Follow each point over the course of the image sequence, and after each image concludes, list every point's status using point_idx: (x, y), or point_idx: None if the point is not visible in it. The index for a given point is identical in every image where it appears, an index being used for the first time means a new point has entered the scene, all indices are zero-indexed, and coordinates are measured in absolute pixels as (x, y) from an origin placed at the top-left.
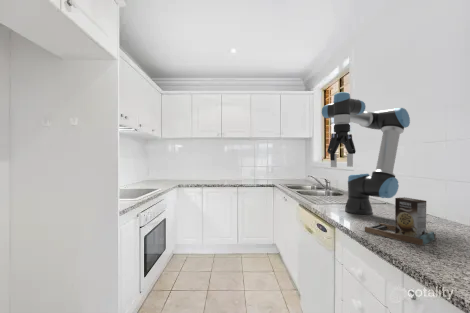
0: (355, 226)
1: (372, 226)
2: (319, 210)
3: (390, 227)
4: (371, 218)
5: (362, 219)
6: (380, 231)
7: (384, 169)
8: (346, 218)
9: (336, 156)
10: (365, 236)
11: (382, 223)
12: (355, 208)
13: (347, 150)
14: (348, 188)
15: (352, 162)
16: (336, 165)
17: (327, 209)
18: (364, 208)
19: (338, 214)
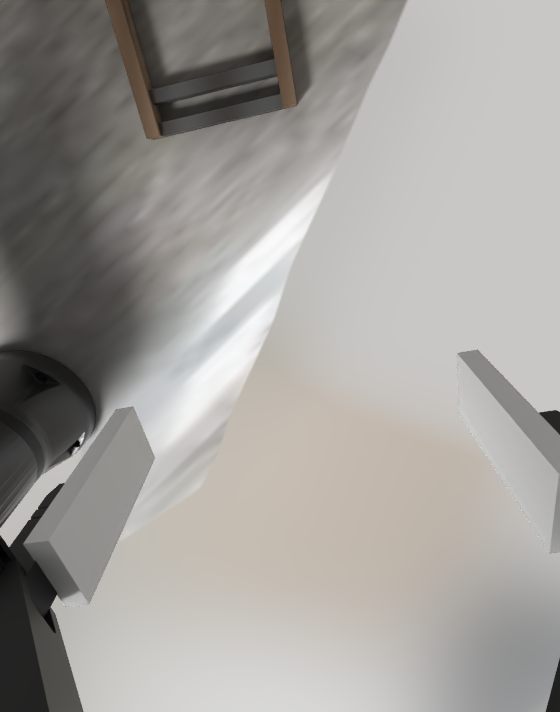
0: (263, 200)
1: (231, 113)
2: (197, 483)
3: (142, 67)
4: (68, 285)
5: (127, 288)
6: (280, 3)
7: None
8: (188, 331)
9: (534, 437)
10: (367, 31)
11: (146, 121)
12: (66, 394)
13: (64, 658)
14: (10, 511)
15: (102, 439)
16: (469, 363)
17: (148, 484)
18: (25, 372)
19: (168, 400)
